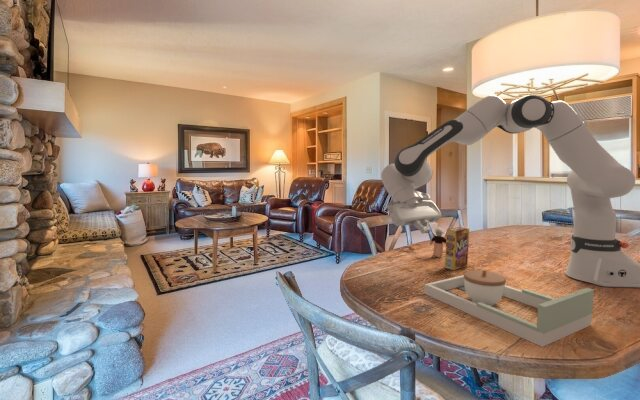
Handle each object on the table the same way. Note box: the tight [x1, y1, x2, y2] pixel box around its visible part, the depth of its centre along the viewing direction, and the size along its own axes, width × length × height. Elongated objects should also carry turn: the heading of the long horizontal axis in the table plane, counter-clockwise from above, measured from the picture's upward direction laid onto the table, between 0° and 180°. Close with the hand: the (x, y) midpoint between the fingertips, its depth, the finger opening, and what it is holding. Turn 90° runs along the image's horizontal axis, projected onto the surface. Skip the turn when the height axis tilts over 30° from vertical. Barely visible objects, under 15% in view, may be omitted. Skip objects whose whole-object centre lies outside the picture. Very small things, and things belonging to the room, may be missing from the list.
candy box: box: [444, 226, 470, 271], centre depth 127 cm, size 9×4×15 cm, turn 123°
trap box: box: [423, 274, 593, 348], centre depth 91 cm, size 34×20×3 cm, turn 28°
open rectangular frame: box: [477, 287, 595, 334], centre depth 83 cm, size 16×21×6 cm
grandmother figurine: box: [429, 227, 446, 259], centre depth 141 cm, size 8×4×13 cm, turn 68°
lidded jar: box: [463, 269, 507, 307], centre depth 95 cm, size 11×11×9 cm
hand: (426, 232), depth 114 cm, fingers closed
